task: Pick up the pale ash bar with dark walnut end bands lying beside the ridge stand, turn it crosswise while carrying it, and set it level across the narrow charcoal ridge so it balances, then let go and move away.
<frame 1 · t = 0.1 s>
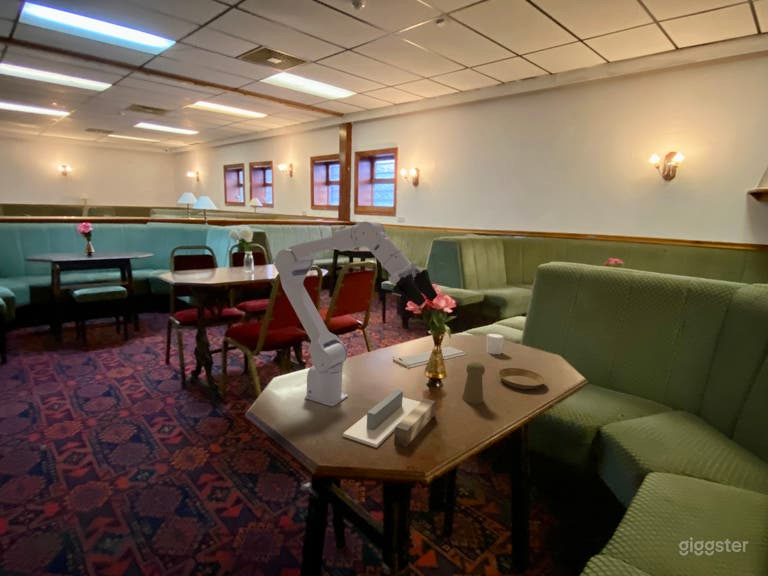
hand: (428, 301, 100), 32 cm above the table, tool tilted 50°, fingers open, 7 cm apart
baseboard: (431, 360, 157), on the table
ridge stand: (385, 419, 108), on the table
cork: (472, 400, 123), on the table
ash bar: (415, 428, 104), on the table
plant saucer: (520, 384, 138), on the table
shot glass: (493, 352, 168), on the table
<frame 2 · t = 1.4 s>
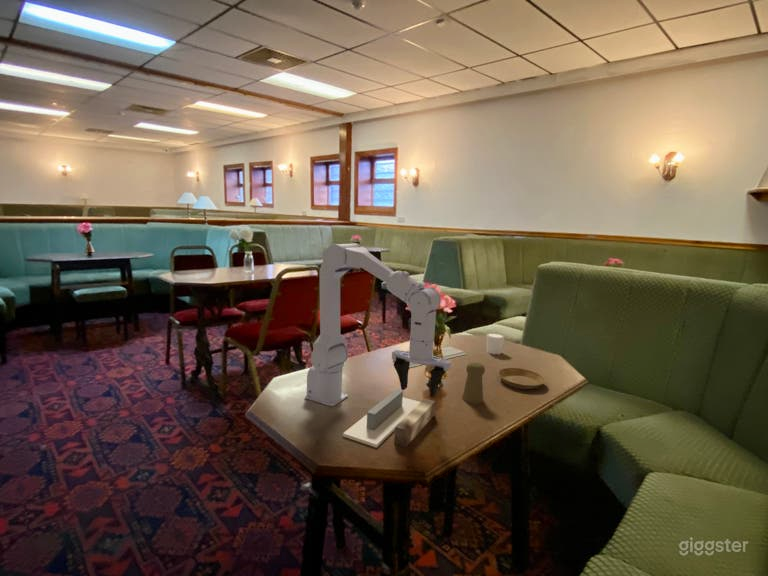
hand: (418, 392, 102), 10 cm above the table, tool pointing down, fingers open, 7 cm apart
nothing on the table moved.
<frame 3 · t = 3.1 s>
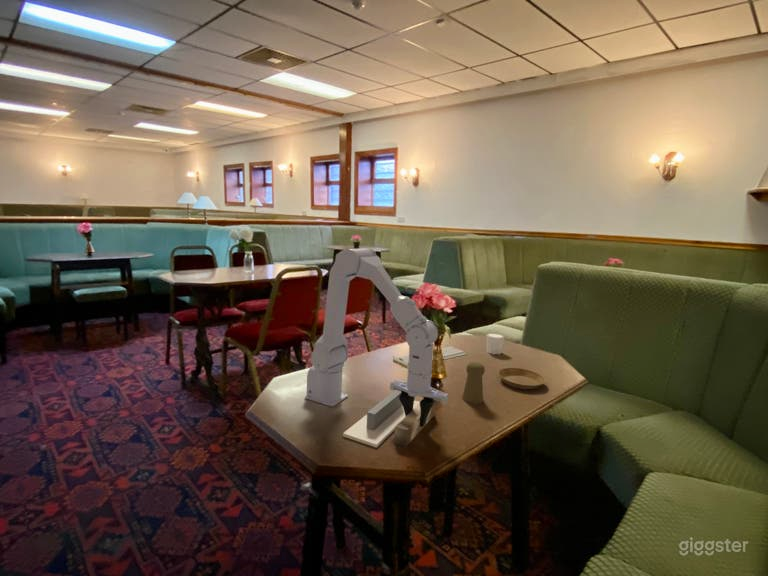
hand: (415, 423, 104), 1 cm above the table, tool pointing down, fingers closed on ash bar, 3 cm apart
ash bar: (415, 428, 104), on the table, touching gripper
everything else where it was.
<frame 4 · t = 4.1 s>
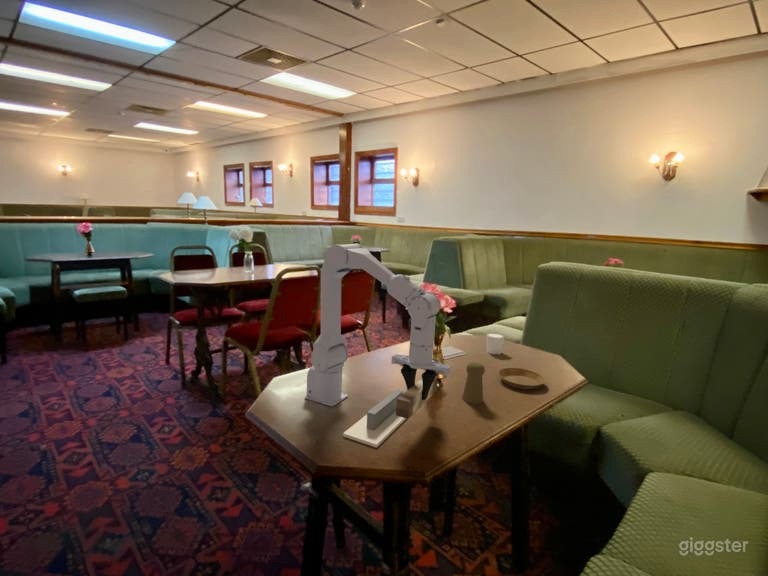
hand: (417, 396, 102), 8 cm above the table, tool pointing down, fingers closed on ash bar, 3 cm apart
ash bar: (417, 402, 103), point 7 cm above the table, touching gripper
everything else where it was.
when the fingers open (7 cm above the table, at t = 5.6 s): ash bar stays where it is, resting on ridge stand.
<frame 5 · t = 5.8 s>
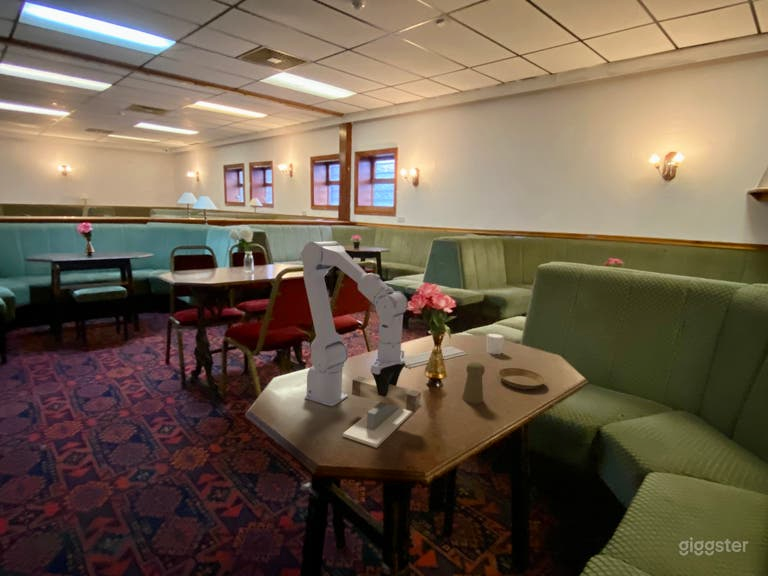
hand: (386, 392, 106), 7 cm above the table, tool pointing down, fingers open, 4 cm apart
ash bar: (385, 400, 107), point 5 cm above the table, touching ridge stand
everything else where it was.
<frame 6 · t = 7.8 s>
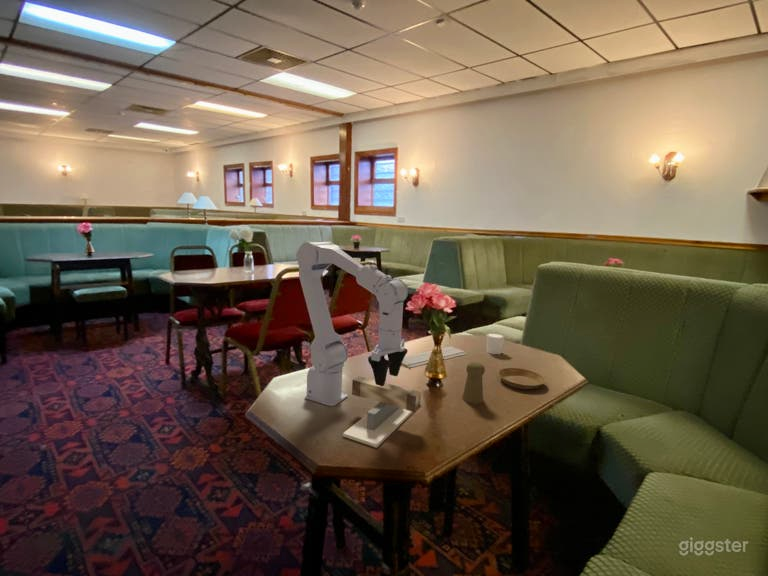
hand: (386, 380, 107), 10 cm above the table, tool pointing down, fingers open, 7 cm apart
nothing on the table moved.
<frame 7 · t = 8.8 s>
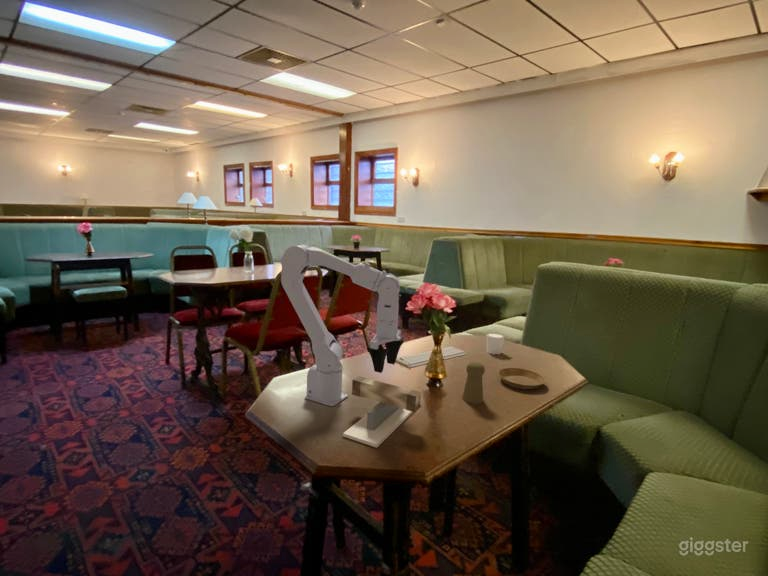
hand: (384, 367, 115), 10 cm above the table, tool pointing down, fingers open, 7 cm apart
nothing on the table moved.
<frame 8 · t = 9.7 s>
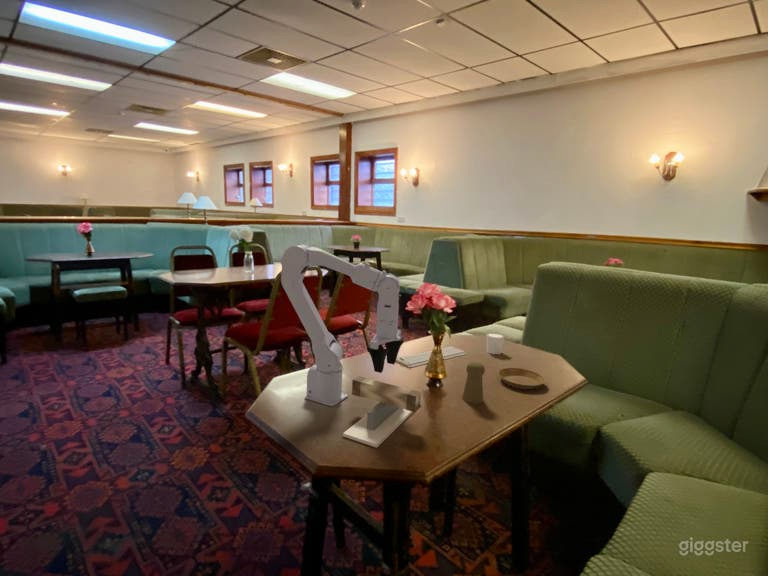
hand: (384, 367, 115), 10 cm above the table, tool pointing down, fingers open, 7 cm apart
nothing on the table moved.
at the end: ash bar 0.3 cm off-centre on the ridge stand, point 5.0 cm above the ridge stand's base; ash bar tilted 0°; the gripper is holding nothing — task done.
